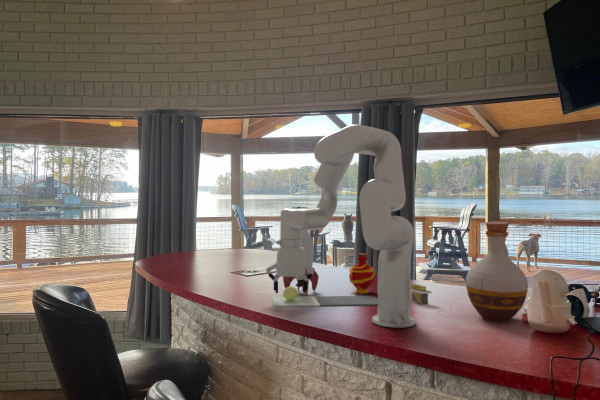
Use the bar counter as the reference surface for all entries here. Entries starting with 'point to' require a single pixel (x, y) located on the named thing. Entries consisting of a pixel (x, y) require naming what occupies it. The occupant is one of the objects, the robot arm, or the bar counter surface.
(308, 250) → the toy
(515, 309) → the jug
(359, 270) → the potion bottle
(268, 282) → the bar counter surface
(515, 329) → the bar counter surface
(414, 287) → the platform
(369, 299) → the strip
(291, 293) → the ball
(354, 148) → the robot arm
